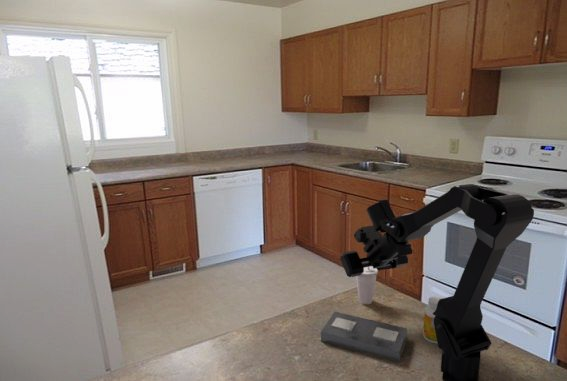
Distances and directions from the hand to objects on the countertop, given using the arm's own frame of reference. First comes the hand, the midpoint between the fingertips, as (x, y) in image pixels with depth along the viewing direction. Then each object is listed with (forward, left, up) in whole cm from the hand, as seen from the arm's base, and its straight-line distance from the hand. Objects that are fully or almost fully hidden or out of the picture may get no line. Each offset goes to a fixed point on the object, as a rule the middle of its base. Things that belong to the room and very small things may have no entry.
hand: (361, 271), depth 107 cm
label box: (-6, +19, -9) cm, 22 cm away
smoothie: (-1, +1, -9) cm, 9 cm away
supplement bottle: (-21, +11, -9) cm, 25 cm away
